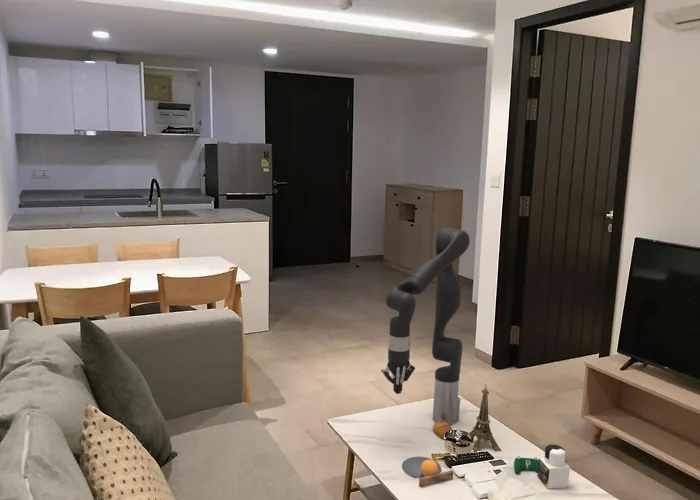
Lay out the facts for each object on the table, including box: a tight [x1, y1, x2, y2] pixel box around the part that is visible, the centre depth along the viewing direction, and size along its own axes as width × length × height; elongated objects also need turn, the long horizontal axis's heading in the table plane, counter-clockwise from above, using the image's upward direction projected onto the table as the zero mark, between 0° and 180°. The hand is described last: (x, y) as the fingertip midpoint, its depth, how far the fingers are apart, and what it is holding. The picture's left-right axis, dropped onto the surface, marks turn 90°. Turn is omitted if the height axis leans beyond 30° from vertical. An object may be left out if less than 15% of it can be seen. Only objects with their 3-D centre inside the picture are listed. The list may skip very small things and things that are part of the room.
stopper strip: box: [418, 469, 454, 488], centre depth 187 cm, size 12×1×2 cm, turn 114°
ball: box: [421, 459, 438, 477], centre depth 190 cm, size 6×6×6 cm
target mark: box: [401, 456, 442, 479], centre depth 196 cm, size 13×13×1 cm
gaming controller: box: [513, 455, 539, 475], centre depth 195 cm, size 9×4×6 cm
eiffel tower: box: [468, 379, 503, 453], centre depth 209 cm, size 11×11×25 cm
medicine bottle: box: [536, 444, 571, 490], centre depth 188 cm, size 7×7×12 cm
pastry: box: [432, 421, 454, 441], centre depth 218 cm, size 9×7×4 cm
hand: (397, 392), depth 209 cm, fingers closed
